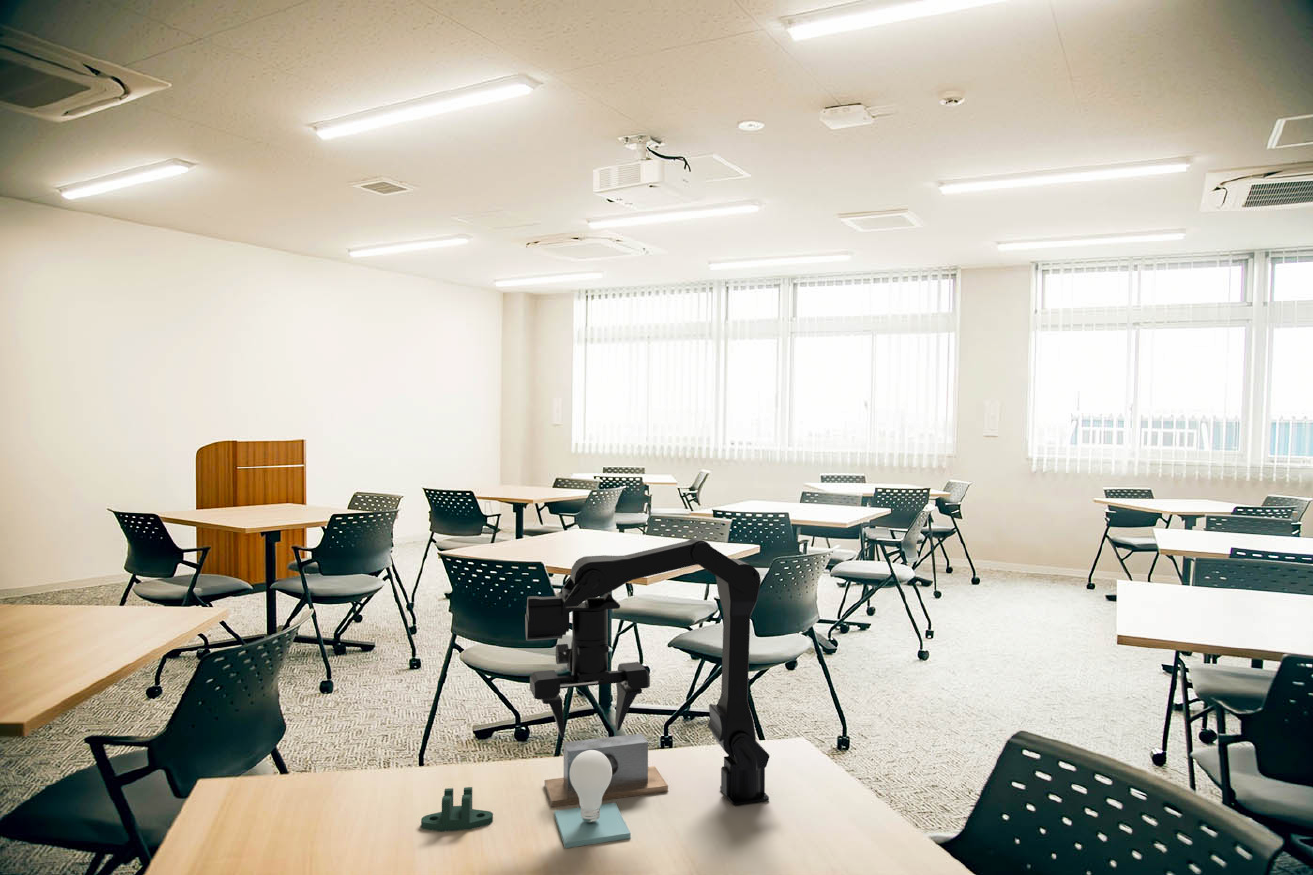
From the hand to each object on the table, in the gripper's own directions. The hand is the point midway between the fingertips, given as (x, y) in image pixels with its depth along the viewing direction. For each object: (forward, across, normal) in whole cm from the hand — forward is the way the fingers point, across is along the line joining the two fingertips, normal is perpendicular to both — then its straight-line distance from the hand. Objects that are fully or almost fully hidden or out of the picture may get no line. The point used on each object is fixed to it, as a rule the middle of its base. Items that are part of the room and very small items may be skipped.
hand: (590, 732), depth 124 cm
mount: (+13, +21, -3) cm, 25 cm away
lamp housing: (+13, -4, -8) cm, 16 cm away
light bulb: (+12, +1, +4) cm, 13 cm away
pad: (+13, +1, +4) cm, 14 cm away
